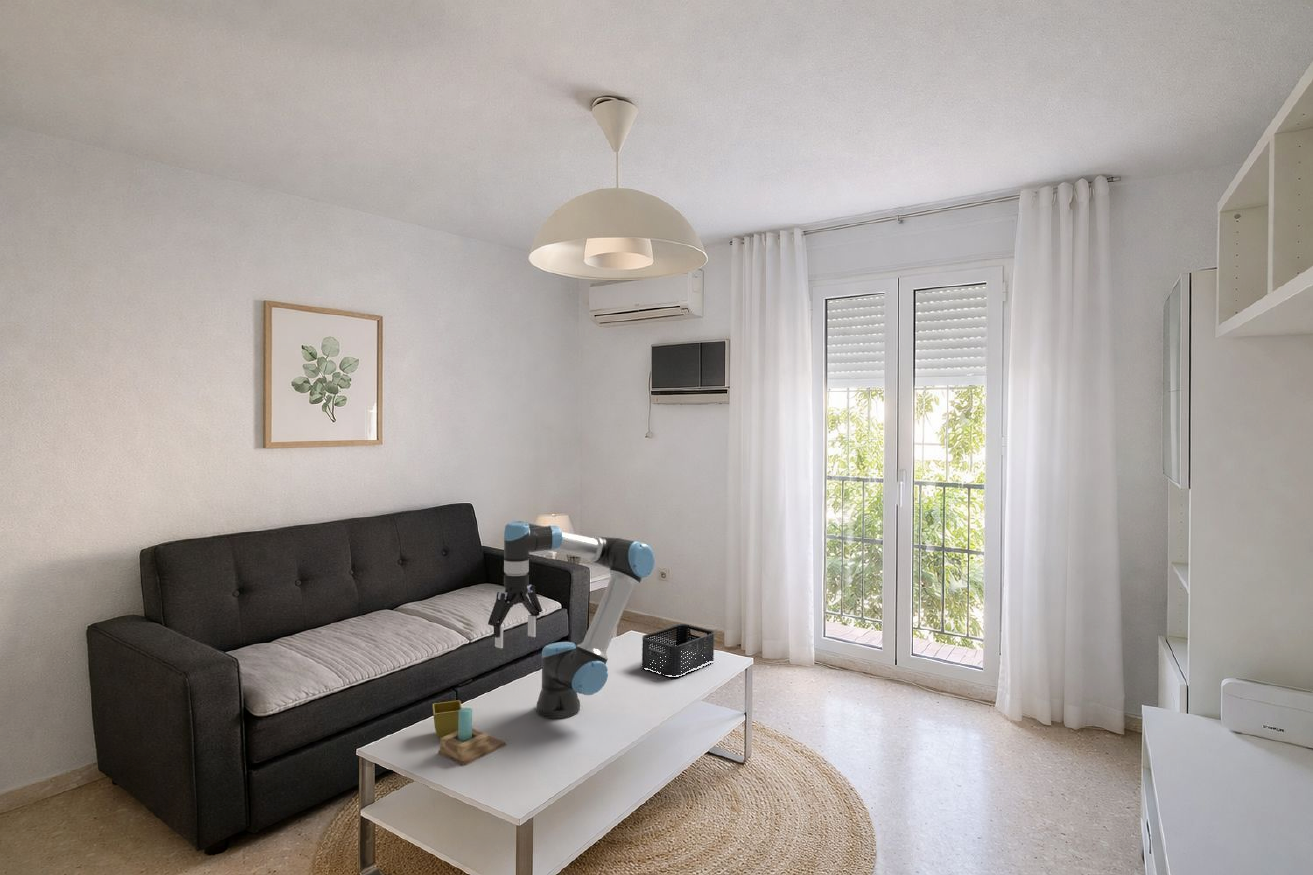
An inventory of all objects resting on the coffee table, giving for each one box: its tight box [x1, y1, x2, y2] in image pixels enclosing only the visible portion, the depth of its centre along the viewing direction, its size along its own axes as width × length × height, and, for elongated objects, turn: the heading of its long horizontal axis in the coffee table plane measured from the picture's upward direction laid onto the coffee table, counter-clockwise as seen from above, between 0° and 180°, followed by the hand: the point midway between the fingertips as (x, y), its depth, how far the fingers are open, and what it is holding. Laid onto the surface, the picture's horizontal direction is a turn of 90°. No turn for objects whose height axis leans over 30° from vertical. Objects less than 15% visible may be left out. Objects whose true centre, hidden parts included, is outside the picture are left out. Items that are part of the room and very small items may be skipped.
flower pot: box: [432, 700, 462, 739], centre depth 220 cm, size 9×9×9 cm
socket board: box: [437, 728, 507, 766], centre depth 210 cm, size 16×12×5 cm
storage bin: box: [641, 623, 715, 676], centre depth 286 cm, size 29×19×13 cm
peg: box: [458, 707, 473, 742], centre depth 208 cm, size 4×4×12 cm
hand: (515, 641), depth 212 cm, fingers open, 13 cm apart
